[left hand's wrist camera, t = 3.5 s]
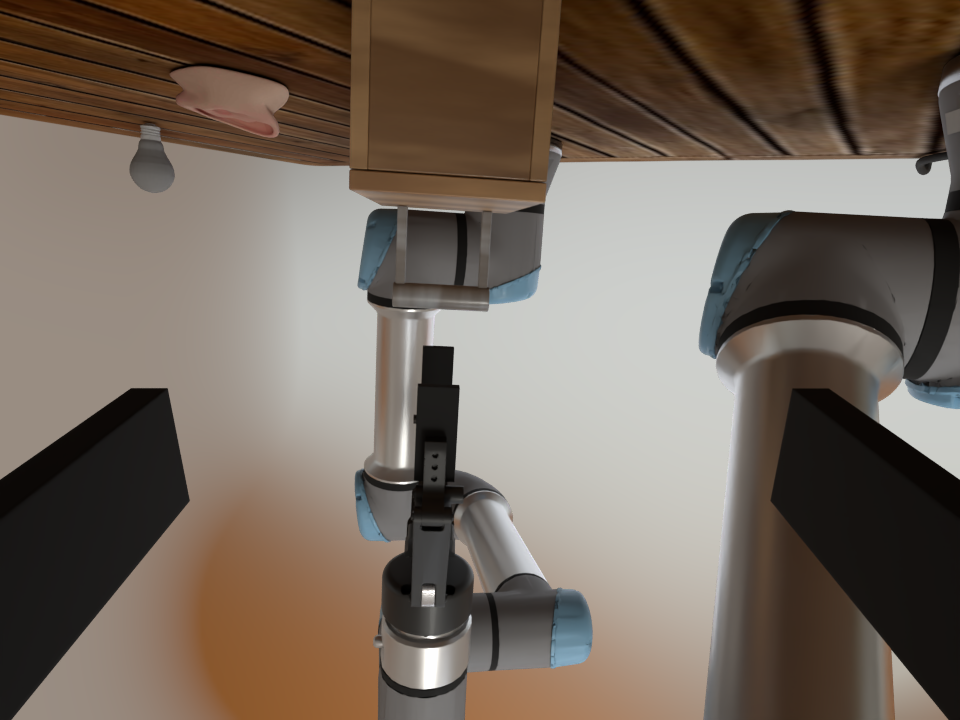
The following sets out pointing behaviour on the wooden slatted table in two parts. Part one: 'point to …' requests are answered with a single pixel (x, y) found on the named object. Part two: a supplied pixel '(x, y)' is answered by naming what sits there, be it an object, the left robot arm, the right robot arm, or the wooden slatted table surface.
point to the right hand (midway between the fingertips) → (438, 362)
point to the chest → (453, 87)
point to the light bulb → (151, 162)
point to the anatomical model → (232, 97)
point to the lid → (444, 196)
